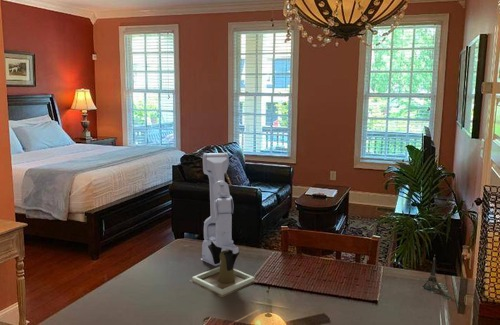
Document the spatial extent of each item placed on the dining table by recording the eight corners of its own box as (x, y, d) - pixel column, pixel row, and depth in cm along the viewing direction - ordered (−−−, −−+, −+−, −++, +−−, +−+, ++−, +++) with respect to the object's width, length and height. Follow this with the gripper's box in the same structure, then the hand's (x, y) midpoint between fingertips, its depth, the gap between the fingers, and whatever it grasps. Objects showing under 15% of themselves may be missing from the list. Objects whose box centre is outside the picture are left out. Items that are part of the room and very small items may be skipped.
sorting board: (188, 281, 169) (188, 280, 169) (224, 267, 182) (224, 266, 182) (221, 298, 157) (221, 297, 157) (258, 282, 170) (258, 281, 170)
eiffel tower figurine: (452, 301, 158) (456, 264, 155) (421, 298, 160) (424, 261, 158) (444, 282, 172) (447, 248, 170) (415, 280, 174) (418, 246, 172)
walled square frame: (192, 280, 169) (192, 276, 169) (224, 268, 181) (224, 264, 180) (222, 295, 158) (222, 291, 158) (254, 281, 170) (254, 277, 169)
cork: (236, 277, 172) (236, 249, 170) (232, 284, 167) (233, 255, 165) (220, 276, 173) (220, 248, 171) (216, 282, 168) (216, 254, 166)
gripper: (245, 233, 163) (244, 270, 166) (219, 223, 174) (219, 257, 176) (229, 237, 159) (229, 275, 161) (204, 227, 169) (204, 262, 172)
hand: (223, 266), depth 168 cm, fingers open, 7 cm apart
